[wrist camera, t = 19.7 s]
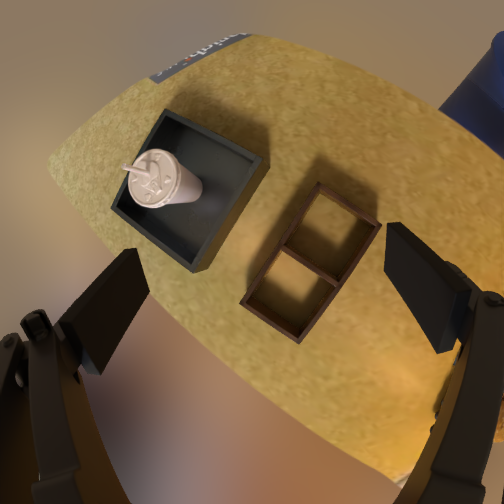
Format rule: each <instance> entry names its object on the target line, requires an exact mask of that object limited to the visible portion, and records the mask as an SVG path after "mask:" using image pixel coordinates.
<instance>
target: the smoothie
mask: <svg viewBox="0 0 504 504" xmlns="http://www.w3.org/2000/svg"><path fill="white" fill-rule="evenodd" d="M121 168H122V169H125V170H128V171H130V173H129V178H128V187H129V191H130V194H131V196H132V198H133V199H134V200H135V201H136V202H137V203H138V204H139V205H141V206H145V207H148V208H158V207H161V206H164V205H165V204H175V203H188V202H194V201H196V200H197V199H198V198H199V197H200V195H201V193H202V189H203V186H202V182H201V180H200V179H199V178H198V177H197V176H195V175H194V174H193V173H191V172H190V171H189V170H188V169H186V168H185V167H184V166H182V165H181V164H180V163H179V162H178V160H177V159H176V158H175V157H174V155H173V154H171V153H169V152H168V151H164V150H161V149H151V150H148V151H146V152H144V153H143V154H141V155H140V156H139V157H138V158H137V159H136V160H135V162H134V163H133V165H128V164H125V163H123V164H122V166H121Z"/></svg>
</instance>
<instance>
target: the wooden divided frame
mask: <svg viewBox="0 0 504 504" xmlns="http://www.w3.org/2000/svg"><path fill="white" fill-rule="evenodd" d="M319 193H321V194H323V195H324V196H326V197H327V198H329V199H330V200H332V201H333V202H335V203H337V204H338V205H340V206H341V207H343V208H344V209H346V210H347V211H349V212H350V213H351V214H353V215H354V216H356V217H357V218H359V219H360V220H362V221H363V222H365V223H366V224H367V225H369V226H370V228H369V230H368V231H367V233H366V235H365V236H364V238H363V239H362V241H361V243H360V244H359V246H358V247H357V249H356V250H355V252H354V253H353V255H352V256H351V258H350V259H349V261H348V262H347V264H346V265H345V267H344V268H343V270H342V271H341V273H340V274H339V276H338V277H335V276H334V275H332V274H331V273H330V272H328V271H327V270H325V269H324V268H322V267H321V266H319V265H318V264H316V263H315V262H313V261H312V260H310V259H309V258H307V257H306V256H304V255H303V254H301V253H300V252H299V251H297V250H296V249H294V248H293V247H291V246H290V245H288V244H287V243H288V241H289V240H290V238H291V237H292V235H293V234H294V232H295V231H296V229H297V227H298V226H299V224H300V223H301V221H302V220H303V218H304V217H305V215H306V213H307V212H308V210H309V209H310V207H311V206H312V204H313V202H314V201H315V199H316V198H317V196H318V195H319ZM381 226H382V224H381V223H379V222H378V221H377V220H375V219H374V218H372V217H371V216H370V215H368V214H367V213H365V212H364V211H362V210H361V209H359V208H358V207H356V206H355V205H353V204H352V203H350V202H349V201H348V200H346V199H344V198H343V197H341V196H340V195H338V194H337V193H335V192H334V191H332V190H331V189H329V188H328V187H326V186H324V185H323V184H321V183H320V182H317V183H316V185H315V186H314V188H313V190H312V191H311V193H310V194H309V196H308V197H307V199H306V201H305V202H304V204H303V205H302V207H301V209H300V210H299V212H298V213H297V215H296V216H295V218H294V219H293V221H292V223H291V224H290V226H289V227H288V229H287V230H286V232H285V234H284V235H283V237H282V238H281V240H280V241H279V243H278V244H277V246H276V247H275V249H274V251H273V252H272V254H271V255H270V257H269V258H268V260H267V261H266V263H265V264H264V266H263V268H262V269H261V271H260V272H259V274H258V275H257V277H256V278H255V280H254V281H253V283H252V284H251V286H250V287H249V289H248V290H247V292H246V293H245V295H244V297H243V298H242V300H241V301H240V303H239V304H240V305H242V306H243V307H244V308H246V309H247V310H249V311H250V312H252V313H253V314H254V315H256V316H257V317H259V318H260V319H262V320H263V321H265V322H266V323H267V324H269V325H270V326H272V327H273V328H275V329H276V330H278V331H279V332H281V333H282V334H284V335H285V336H287V337H288V338H290V339H291V340H293V341H294V342H296V343H297V344H300V343H301V342H302V340H303V339H304V338H305V337H306V335H307V334H308V333H309V331H310V330H311V329H312V327H313V326H314V325H315V323H316V322H317V321H318V319H319V318H320V317H321V315H322V314H323V313H324V311H325V310H326V309H327V307H328V306H329V304H330V303H331V302H332V300H333V299H334V297H335V296H336V295H337V293H338V292H339V290H340V289H341V288H342V286H343V285H344V283H345V282H346V280H347V279H348V277H349V276H350V274H351V273H352V272H353V270H354V269H355V267H356V266H357V264H358V263H359V261H360V259H361V258H362V256H363V255H364V253H365V252H366V250H367V249H368V247H369V246H370V244H371V242H372V241H373V239H374V238H375V236H376V234H377V233H378V231H379V230H380V228H381ZM282 251H283V252H285V253H286V254H288V255H289V256H291V257H292V258H294V259H295V260H297V261H298V262H300V263H301V264H303V265H304V266H306V267H307V268H309V269H310V270H312V271H313V272H315V273H316V274H318V275H319V276H321V277H322V278H323V279H325V280H326V281H328V282H329V283H331V284H332V286H331V287H330V289H329V290H328V292H327V293H326V294H325V296H324V297H323V299H322V300H321V301H320V303H319V304H318V306H317V307H316V308H315V310H314V311H313V313H312V314H311V315H310V317H309V318H308V319H307V321H306V322H305V323H304V325H303V326H302V327H301V329H299V328H298V327H296V326H295V325H293V324H292V323H290V322H289V321H287V320H286V319H284V318H283V317H281V316H280V315H278V314H277V313H276V312H274V311H273V310H271V309H270V308H268V307H267V306H265V305H264V304H262V303H261V302H260V301H258V300H257V299H255V298H254V297H252V296H253V295H254V293H255V292H256V290H257V289H258V287H259V286H260V284H261V283H262V281H263V280H264V278H265V277H266V275H267V274H268V272H269V271H270V269H271V267H272V266H273V264H274V263H275V261H276V260H277V258H278V257H279V255H280V254H281V252H282Z"/></svg>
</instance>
